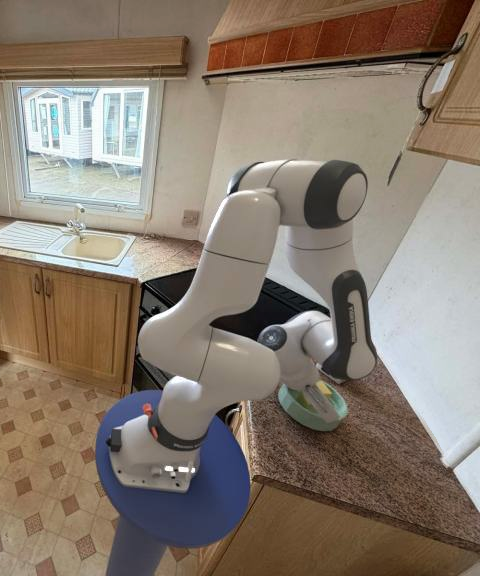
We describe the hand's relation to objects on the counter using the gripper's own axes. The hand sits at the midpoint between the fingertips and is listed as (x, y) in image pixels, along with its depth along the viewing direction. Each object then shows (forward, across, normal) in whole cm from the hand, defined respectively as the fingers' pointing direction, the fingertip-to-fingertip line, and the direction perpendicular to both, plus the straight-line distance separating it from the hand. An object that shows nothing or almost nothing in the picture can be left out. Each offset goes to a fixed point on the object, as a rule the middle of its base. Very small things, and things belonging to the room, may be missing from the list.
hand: (316, 397), depth 85 cm
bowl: (+3, 0, +4) cm, 5 cm away
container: (+16, +14, -9) cm, 23 cm away
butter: (+2, 0, +3) cm, 4 cm away
